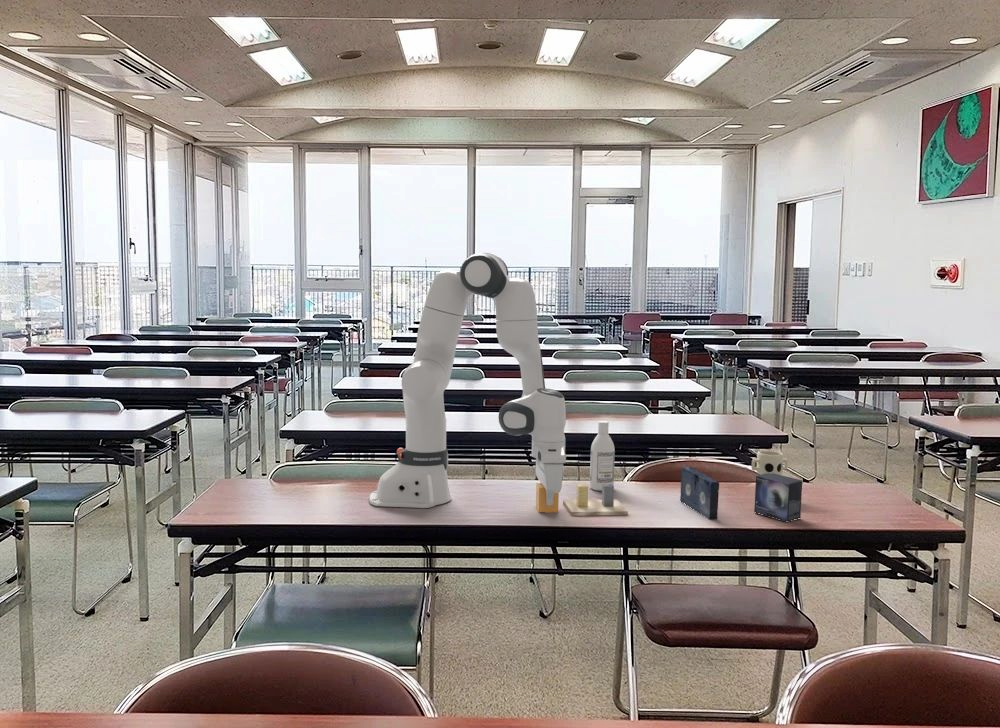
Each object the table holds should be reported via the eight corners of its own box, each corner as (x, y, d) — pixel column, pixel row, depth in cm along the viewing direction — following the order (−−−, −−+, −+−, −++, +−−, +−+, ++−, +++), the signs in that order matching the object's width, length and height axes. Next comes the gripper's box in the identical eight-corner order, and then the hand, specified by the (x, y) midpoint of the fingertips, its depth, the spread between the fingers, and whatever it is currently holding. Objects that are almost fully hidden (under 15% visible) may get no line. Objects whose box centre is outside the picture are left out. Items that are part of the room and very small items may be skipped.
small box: (752, 513, 227) (754, 474, 226) (767, 509, 231) (769, 471, 230) (786, 523, 218) (788, 483, 217) (801, 519, 222) (803, 479, 221)
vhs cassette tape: (718, 519, 221) (719, 482, 220) (707, 520, 220) (708, 482, 219) (689, 501, 238) (691, 466, 237) (679, 501, 238) (681, 466, 237)
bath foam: (618, 489, 250) (620, 422, 248) (601, 492, 246) (604, 424, 244) (601, 484, 255) (603, 418, 253) (584, 487, 251) (586, 421, 249)
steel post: (603, 506, 227) (604, 486, 226) (601, 504, 230) (602, 484, 229) (613, 506, 227) (614, 486, 227) (611, 503, 230) (611, 484, 229)
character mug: (755, 501, 240) (757, 455, 238) (744, 494, 247) (746, 450, 245) (792, 500, 241) (794, 455, 240) (780, 493, 248) (782, 449, 247)
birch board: (571, 515, 221) (571, 511, 221) (563, 503, 233) (563, 499, 233) (627, 514, 223) (627, 511, 223) (616, 502, 235) (616, 499, 235)
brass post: (578, 507, 226) (578, 486, 226) (576, 504, 229) (576, 484, 228) (587, 506, 226) (588, 486, 226) (585, 504, 229) (586, 484, 228)
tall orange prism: (538, 512, 224) (539, 488, 223) (535, 507, 229) (536, 483, 228) (558, 512, 224) (558, 487, 224) (554, 507, 230) (555, 483, 229)
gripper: (530, 442, 235) (529, 491, 236) (542, 458, 215) (541, 511, 216) (553, 442, 236) (552, 491, 237) (567, 458, 215) (565, 511, 217)
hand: (547, 501), depth 226 cm, fingers closed on tall orange prism, 5 cm apart
